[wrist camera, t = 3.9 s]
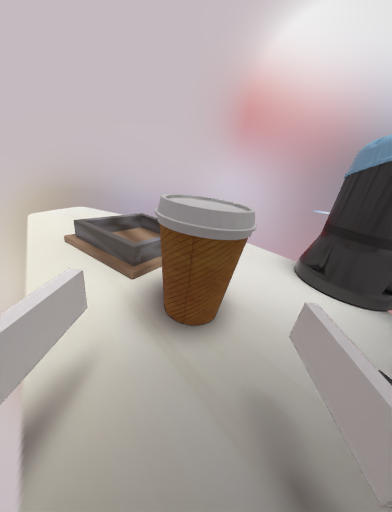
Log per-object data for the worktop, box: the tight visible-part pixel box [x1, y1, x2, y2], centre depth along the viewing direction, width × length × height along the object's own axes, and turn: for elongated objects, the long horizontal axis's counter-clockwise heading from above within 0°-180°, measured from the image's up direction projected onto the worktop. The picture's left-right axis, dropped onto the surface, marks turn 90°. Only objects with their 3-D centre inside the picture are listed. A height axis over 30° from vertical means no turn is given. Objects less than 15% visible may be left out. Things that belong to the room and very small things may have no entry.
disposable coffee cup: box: [155, 194, 257, 325], centre depth 19 cm, size 10×10×12 cm
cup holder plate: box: [64, 213, 162, 279], centre depth 35 cm, size 18×18×4 cm
